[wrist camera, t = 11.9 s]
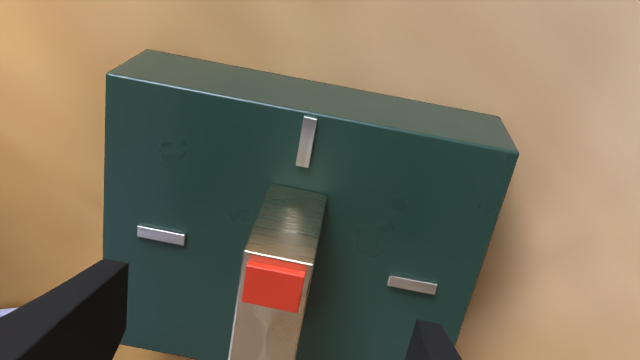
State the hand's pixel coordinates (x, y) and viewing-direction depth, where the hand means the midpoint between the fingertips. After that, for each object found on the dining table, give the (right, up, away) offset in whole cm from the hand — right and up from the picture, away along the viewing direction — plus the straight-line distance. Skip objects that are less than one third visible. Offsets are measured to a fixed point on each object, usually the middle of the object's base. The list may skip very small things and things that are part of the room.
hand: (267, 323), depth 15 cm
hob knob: (0, +1, +3) cm, 3 cm away
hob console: (+1, +3, +5) cm, 6 cm away
